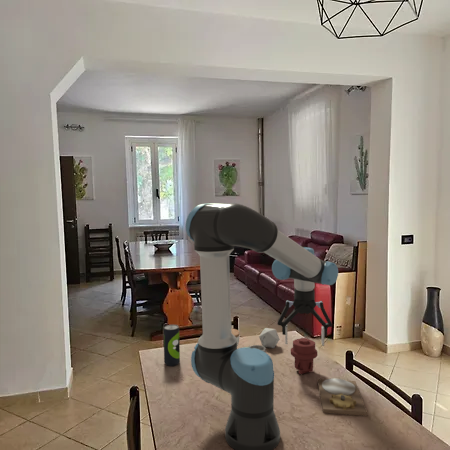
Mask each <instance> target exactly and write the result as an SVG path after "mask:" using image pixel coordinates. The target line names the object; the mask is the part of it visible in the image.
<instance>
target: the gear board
mask: <svg viewBox="0 0 450 450" xmlns="http://www.w3.org/2000/svg"><path fill="white" fill-rule="evenodd" d="M317 385H318V391H319V397H320V405H321V408H322V409H323V410H322V413H323V414H335V415H336V414H337V415H347V414H349V415H350V416H360V415H361V416H362V415H363V416H364V417H367V416H368V411H367V408H366V406H365V403H364V401H363V398H362V395H361V393H360V389H359V387H358V385H357V381H356V380H346V379H343V378H337V377H336V378H335V377H333V378H317ZM365 415H366V416H365Z"/></svg>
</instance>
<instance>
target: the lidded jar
mask: <svg viewBox="0 0 450 450" xmlns="http://www.w3.org/2000/svg"><path fill="white" fill-rule="evenodd" d="M231 333H232V334H233V335H234V336H235V337H236V338H237V347H238V346H239V342H240V335H241V334H240V331H239V330H238V329H236V328H232V327H231Z"/></svg>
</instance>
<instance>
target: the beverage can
mask: <svg viewBox="0 0 450 450" xmlns="http://www.w3.org/2000/svg"><path fill="white" fill-rule="evenodd" d="M180 342H181V341H180V328H179V325H178V324H168V325H165V326H164V327H163V362H164V364H165V365H166V367H167V366H168V367H174V366H177V365H179V363H180V362H181V358H180V357H181V354H180V353H181V350H180V347H181V346H180V344H181V343H180Z"/></svg>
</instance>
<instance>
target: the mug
mask: <svg viewBox="0 0 450 450" xmlns="http://www.w3.org/2000/svg"><path fill="white" fill-rule="evenodd" d="M247 347H249V348H251V349H252V348H256V349H259V350H262V351H264V352H265V353H267V352H266V351H267V350H266V349H267V347H264V346H262V344H261V345H259V344H256V345H255V344H254V345H249V346H247Z"/></svg>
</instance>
